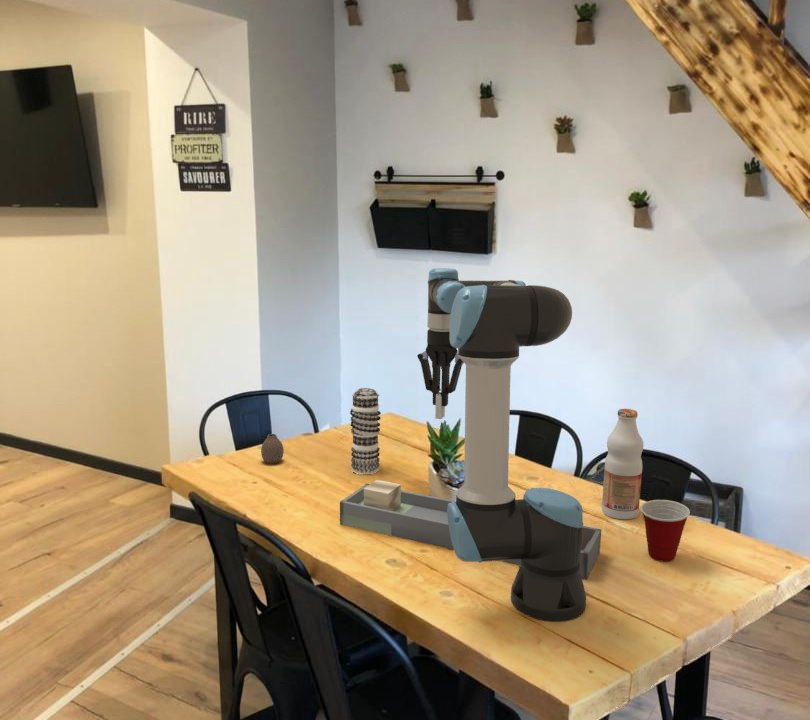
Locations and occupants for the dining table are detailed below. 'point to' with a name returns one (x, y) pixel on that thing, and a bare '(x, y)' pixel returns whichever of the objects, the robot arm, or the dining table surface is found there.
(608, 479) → the fruit juice
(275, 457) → the vase
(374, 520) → the tray
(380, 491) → the beech block
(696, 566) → the dining table surface
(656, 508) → the plastic cup
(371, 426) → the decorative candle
